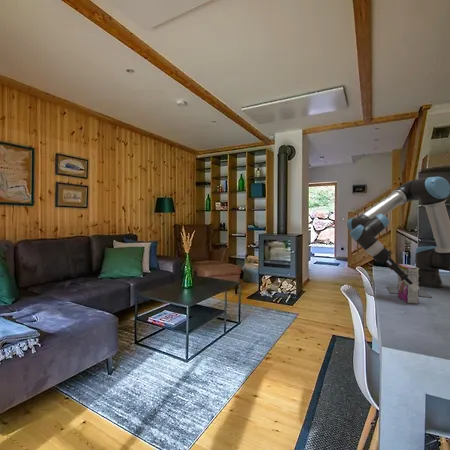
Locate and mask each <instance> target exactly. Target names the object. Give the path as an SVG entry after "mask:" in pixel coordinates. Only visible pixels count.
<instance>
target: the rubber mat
mask: <svg viewBox="0 0 450 450" xmlns="http://www.w3.org/2000/svg"><path fill="white" fill-rule="evenodd" d="M385 287H386V289H387V292H388V293H389V294H390V295H398V286H385ZM419 297H420V298H427V299H433V296H432V295H431V294H429V293H428V292H427V291H426V289H419Z"/></svg>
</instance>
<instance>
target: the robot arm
mask: <svg viewBox="0 0 450 450" xmlns="http://www.w3.org/2000/svg"><path fill="white" fill-rule="evenodd" d="M449 196H450V184H449V181H448V180H447V179H445V178H444V177H442V176H429V177H423V178H417V179H412V180H408V181H407V182H405V183H403V184H401V185H400V186H398V187H397V188H395V189H393V190H392V191H391V193H390V194H389V195H388V196H387V197H385V198H384V199H382V200H380V201H379V202H378V203H376V204H374V205H373V206H372V207H370V208H369V209H367V210H366V211H364V212H363V213H361V214H360V215H358V216H357V217H351V218H349V219H348V220H347V223H346V227H347V229H348V230H349V231H350V232H349V236H350V237H351V238H352V240H354V242H356V243H357V244H358V245H359V246H360V247H361V248H362V249H364V251H365V254H366V255H367V254H368V255H370V256H371V257H372V259H373V260H374V261H375V262H376V263H381V262H383V264H384V265H385V266H387V267H388V268H389V269H390V270H391V271H393V272H395V274H396V275H397V276H398V275H399V276H400V277H401V281H404V282H405V283H407V284H408V285H409V286H410V287H411V288H412V289H413V290H414V291H416V290H418V289H419V290H420V287H426V288H442V287H443V281H442V278H441V274H440V271H447V272H450V217H449V214H448V210H447V206H446V202H447V200H448V197H449ZM413 201H419V203H420V205H421V206H422V207H424V208H425V211H426V214H427V218H428V221H429V224H430V227H431V230H432V234H433V238H434V241H435V244H436V246H417V247H416V248H415V257H414V258H415V260H414V261H415V262H414V264H415V266H414V267H417V268H419V286H418V285H417V284H416V283H415V282H413V281H412V280H411V279H410V278H409V277H408V276H407V275H406V274H405V273H404V272H403V271H402V270H400V269H399V268H398V264H397V263H396V262H395V261H394V259H392V258H391V257H390V258H389V257H388V256H390V254H391V251H390V250H389V249H387V248H386V247H385V246H384V244H382V242H380V241H379V240H378V239H377V238H376V236H378V235H379V234H380V233H382V232H383V231H384V230H385V229H386V228H387V227H388V225H390V224H389V223H390V221H389V218H388V217H387V216H386V215H387V214H388V213H390V212H392V211H393V210H394V209H396V208H397V207H399V206H400V205H401V206H402V205H405V204H406V203H408V202H413ZM403 275H404V276H403Z"/></svg>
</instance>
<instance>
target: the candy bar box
mask: <svg viewBox="0 0 450 450" xmlns="http://www.w3.org/2000/svg"><path fill="white" fill-rule="evenodd" d="M397 265H398V266H397V267H398V268H399V269H400V270H402V271H403V272H404V273H405V274H406V275H407V276H408V277H409V278H410V279H411V280H412V281H413V282H415V283H416V284H417V285H418V286H419V268H417V267H415V266H414V265H411V264H405V263H403V264H402V263H398V264H397ZM403 276H404V275H403ZM397 287H398V294H397V298H399V299H400V300H402V301H404V302H405V303H406V304H411V305H412V304H416V305H419V290H420V288H419V289H418V290H416V291H414V290H413V289H412V288H411V287H410V286H409V285H408V284H407V283H405V282H404V281H401V277H400V276H399V275H398V274H397ZM419 287H420V286H419Z"/></svg>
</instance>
